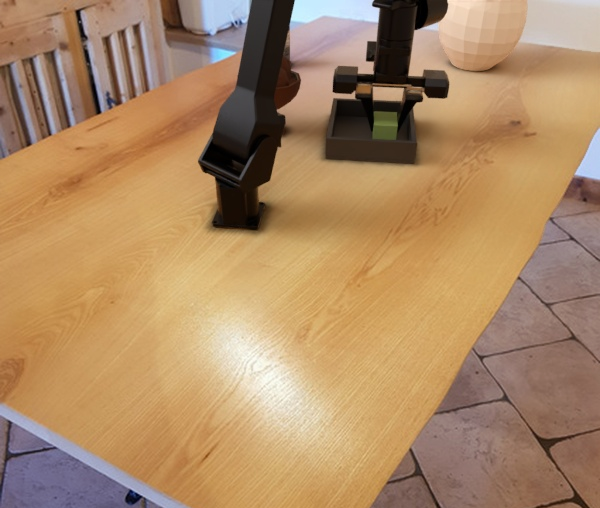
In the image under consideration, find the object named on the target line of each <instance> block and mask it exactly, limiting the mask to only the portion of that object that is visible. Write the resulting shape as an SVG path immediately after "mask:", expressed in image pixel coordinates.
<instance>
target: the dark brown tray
mask: <svg viewBox="0 0 600 508" xmlns="http://www.w3.org/2000/svg"><path fill="white" fill-rule="evenodd" d="M401 101H402V100H384V99H383V100H382V99H381V100H380V99H373V103H374V111H379V112H397V117H398V113H399V109H400V105H401ZM414 112H415V111H414V107H413V108H412V110H411V111H410V112H409V114H408V115H407V117H406V119H405V121H404V122H403V124H402V126H401V128H400V130H399V132H398V133H397V136H396V140H387V139H372V138H373V132H371V129H370V125H369V122H368V118H367V114H366V111H365V109H364V106H363V104H362V102H361V100H360V99H355V98H341V97H333V98H332V104H331V108H330V115H329V120H328V125H327V126H328V127H327V132H326V136H325V137H326V138H325V155H324V156H325V158H324V159H326V160H339V161H340V160H341V161H358V162H359V161H361V162H375V163H376V162H378V163H393V164H395V163H396V164H412V165H413V164H415V160H416V154H417V149H418V139H417V130H416V121H415V113H414Z"/></svg>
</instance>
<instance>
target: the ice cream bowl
mask: <svg viewBox="0 0 600 508" xmlns="http://www.w3.org/2000/svg"><path fill="white" fill-rule="evenodd" d="M291 68H292V65H291V59H290V60H289V59H288V58H287V57H286V56H284V55H283V58H282V63H281V67H280V72H279V77H278V81H277V86H276V91H275V96H274V101H275V105H276V109H277V110H280V109H281V108H283V107H285V106H287V105H288V104H290V103H291V102H292V101H293V100H294V99H295V98H296V97H297V94H298V93H299V91H300V89H301V84H302V78H301V76H300V73H299V72H296V71H295V70H292V69H291ZM236 76H237V77H238V74H237V75H236ZM285 133H286V128H285V126H284V129H283V133H282V136H283V135H284V134H285Z"/></svg>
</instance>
